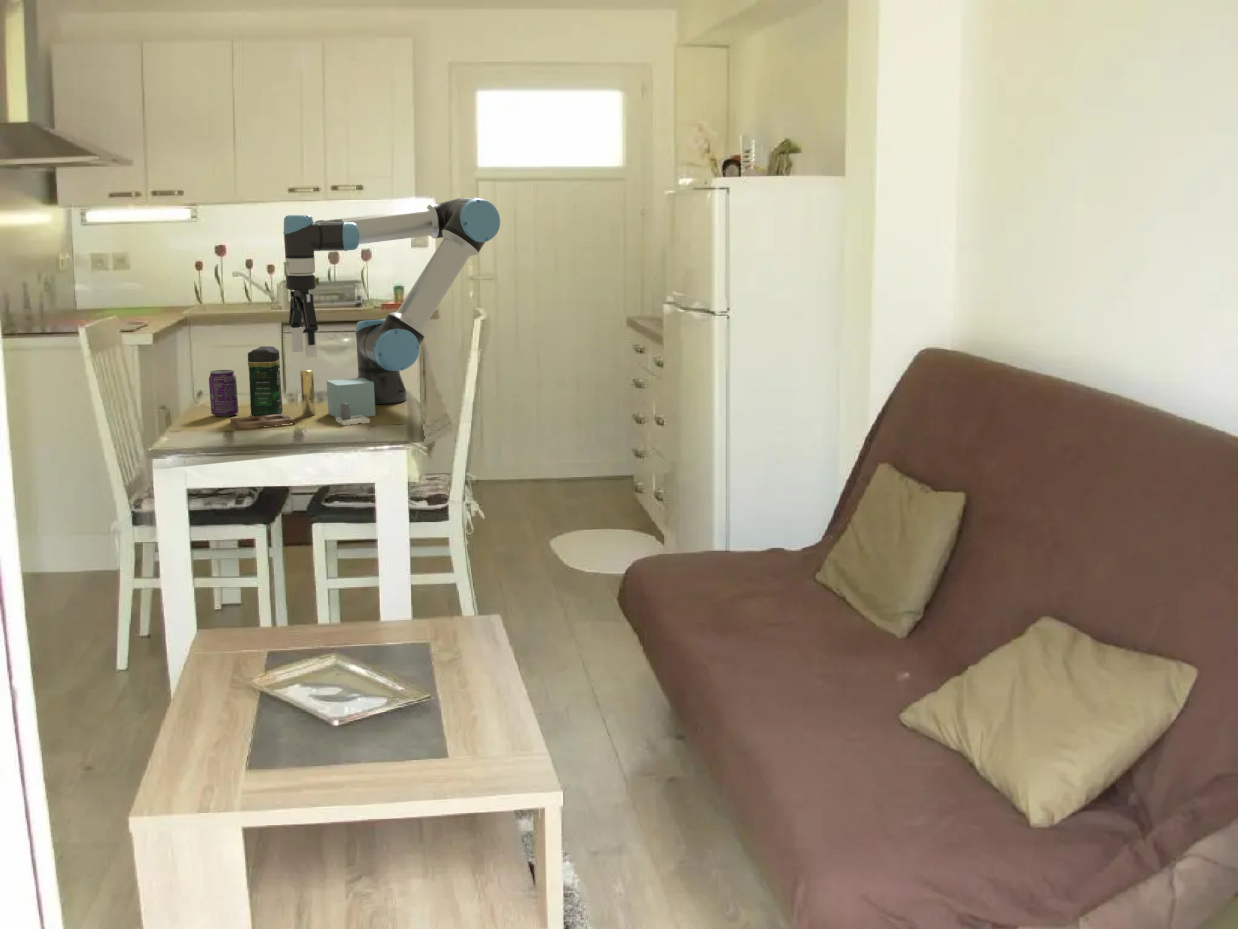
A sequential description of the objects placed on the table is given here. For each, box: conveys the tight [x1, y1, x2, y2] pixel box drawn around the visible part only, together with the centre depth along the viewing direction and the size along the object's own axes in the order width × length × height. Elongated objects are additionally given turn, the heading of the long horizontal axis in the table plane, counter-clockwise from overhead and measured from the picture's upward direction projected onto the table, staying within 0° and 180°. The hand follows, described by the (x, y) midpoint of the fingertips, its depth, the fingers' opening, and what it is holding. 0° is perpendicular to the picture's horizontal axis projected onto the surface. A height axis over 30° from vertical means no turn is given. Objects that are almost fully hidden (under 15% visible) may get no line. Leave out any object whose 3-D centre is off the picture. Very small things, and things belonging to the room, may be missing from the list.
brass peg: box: [299, 369, 316, 417], centre depth 370 cm, size 3×3×12 cm
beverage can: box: [208, 369, 239, 418], centre depth 370 cm, size 7×7×12 cm
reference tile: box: [335, 403, 371, 426], centre depth 359 cm, size 7×7×5 cm
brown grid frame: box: [229, 413, 295, 430], centre depth 357 cm, size 14×10×1 cm
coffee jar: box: [247, 345, 284, 417], centre depth 369 cm, size 10×8×19 cm
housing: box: [326, 377, 376, 418], centre depth 369 cm, size 10×10×9 cm
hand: (304, 354), depth 367 cm, fingers open, 13 cm apart
